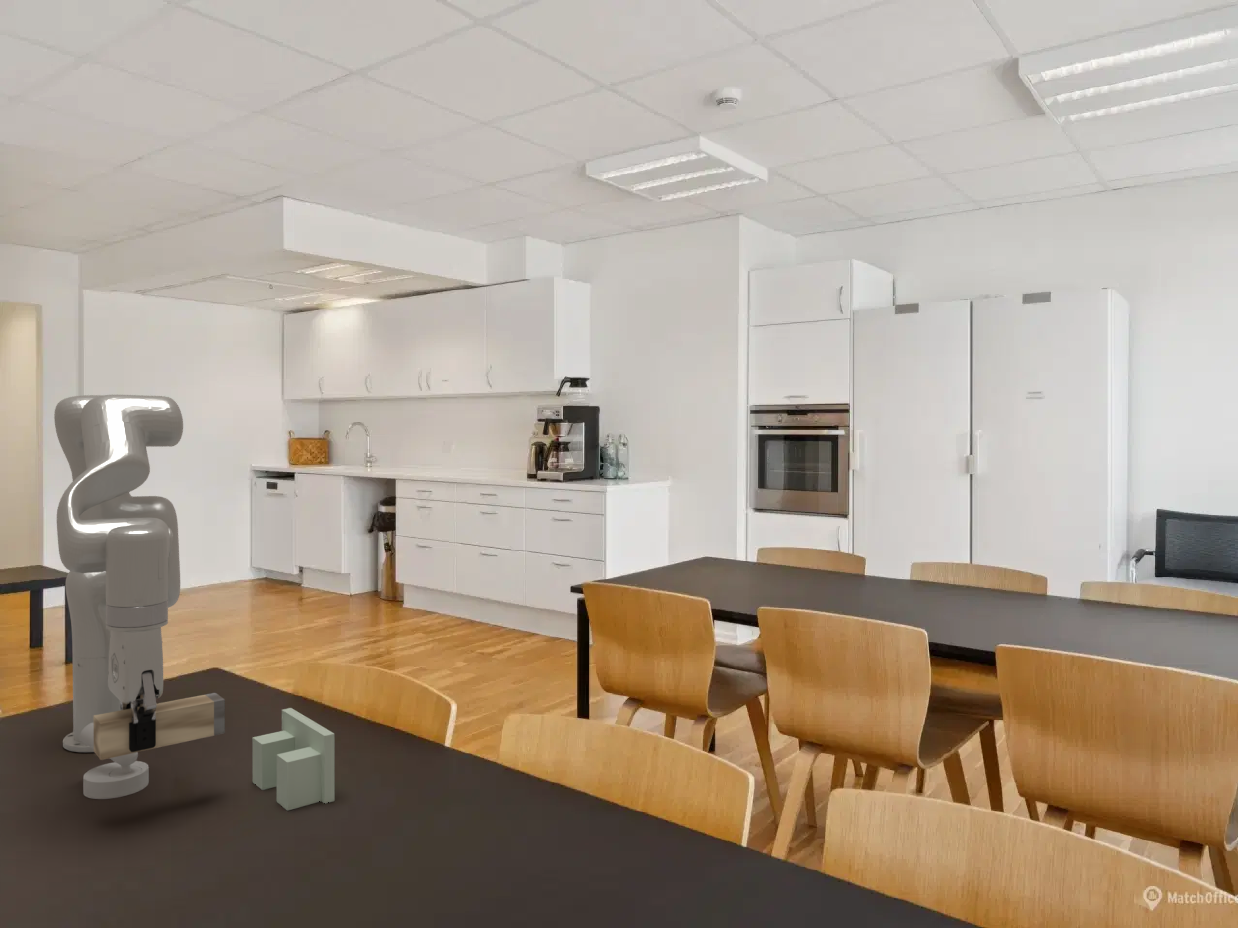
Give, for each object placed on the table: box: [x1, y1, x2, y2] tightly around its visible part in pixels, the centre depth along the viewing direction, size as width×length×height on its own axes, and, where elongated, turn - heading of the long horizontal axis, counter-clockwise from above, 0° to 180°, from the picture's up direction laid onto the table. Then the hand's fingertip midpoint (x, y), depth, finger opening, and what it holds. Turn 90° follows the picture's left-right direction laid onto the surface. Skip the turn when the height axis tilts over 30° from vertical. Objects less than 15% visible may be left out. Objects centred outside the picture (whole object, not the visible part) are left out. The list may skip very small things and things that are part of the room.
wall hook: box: [79, 723, 150, 800], centre depth 133 cm, size 9×10×10 cm
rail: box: [93, 692, 226, 761], centre depth 124 cm, size 4×16×5 cm, turn 133°
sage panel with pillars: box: [251, 707, 336, 812], centre depth 132 cm, size 16×6×10 cm, turn 43°
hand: (137, 742), depth 122 cm, fingers closed on rail, 4 cm apart
